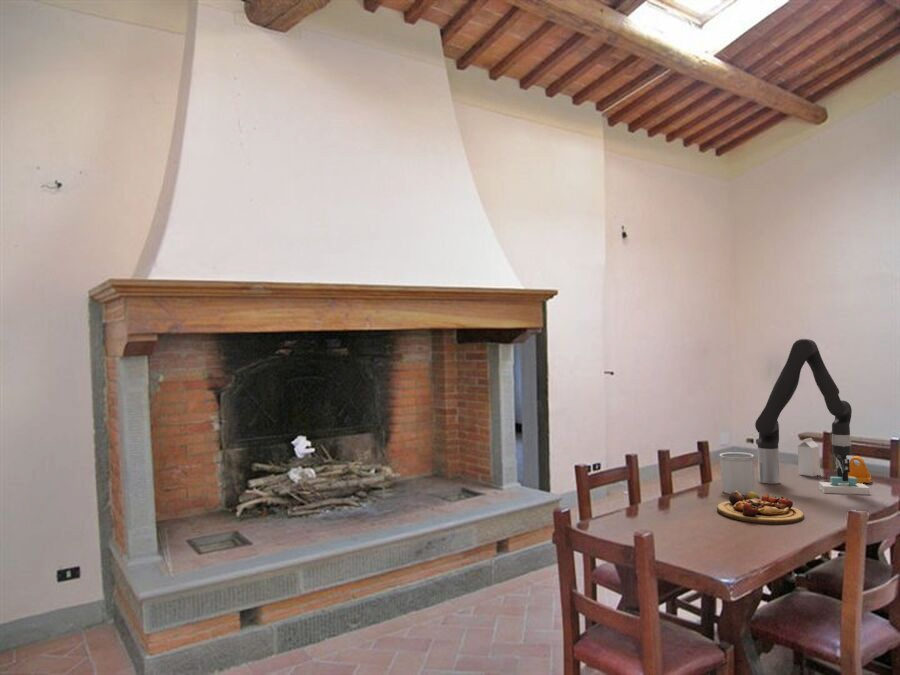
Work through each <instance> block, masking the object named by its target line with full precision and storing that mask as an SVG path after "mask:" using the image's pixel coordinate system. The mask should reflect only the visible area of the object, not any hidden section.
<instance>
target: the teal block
mask: <svg viewBox="0 0 900 675" xmlns="http://www.w3.org/2000/svg"><path fill="white" fill-rule="evenodd" d="M829 482H830V483H832V485H833V486H838V483H843V484H849V486H856V484H857V479H856V478H855V477H848V481H843V480H842V477H838V476H829Z"/></svg>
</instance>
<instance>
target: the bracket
mask: <svg viewBox="0 0 900 675" xmlns="http://www.w3.org/2000/svg"><path fill="white" fill-rule="evenodd" d="M854 461H857V462H858V463H859V464H856V463H855V462H854ZM849 466H850V472H849V473H848V477H855V478H856V479H857V483H862V484H863V483H864V484H865V483H866V484H867V483H871V482H872V475H871V472H870V471H869V469H868V467H867V464H866V463H865V461H864V459H863V458H862V457H861V456H858V455H855V456H853V457H851V459H849Z"/></svg>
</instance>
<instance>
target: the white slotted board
mask: <svg viewBox="0 0 900 675" xmlns="http://www.w3.org/2000/svg"><path fill="white" fill-rule="evenodd" d="M818 488H819V489H818V490H820V491H823V492H822V493H823V494H841V495H842V494H843V495H844V494H845V495H867V496H868V495H869V496H870V495H871V494H870V492H871V491H870V487H869V486H867V485H866V484H865V483H864V484H860V483H857V484H856V486H849V484H843V483H838V486H833V485H832V483H831V482H830V481H829V482H826V481H824V482H823V481H819V482H818Z"/></svg>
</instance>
